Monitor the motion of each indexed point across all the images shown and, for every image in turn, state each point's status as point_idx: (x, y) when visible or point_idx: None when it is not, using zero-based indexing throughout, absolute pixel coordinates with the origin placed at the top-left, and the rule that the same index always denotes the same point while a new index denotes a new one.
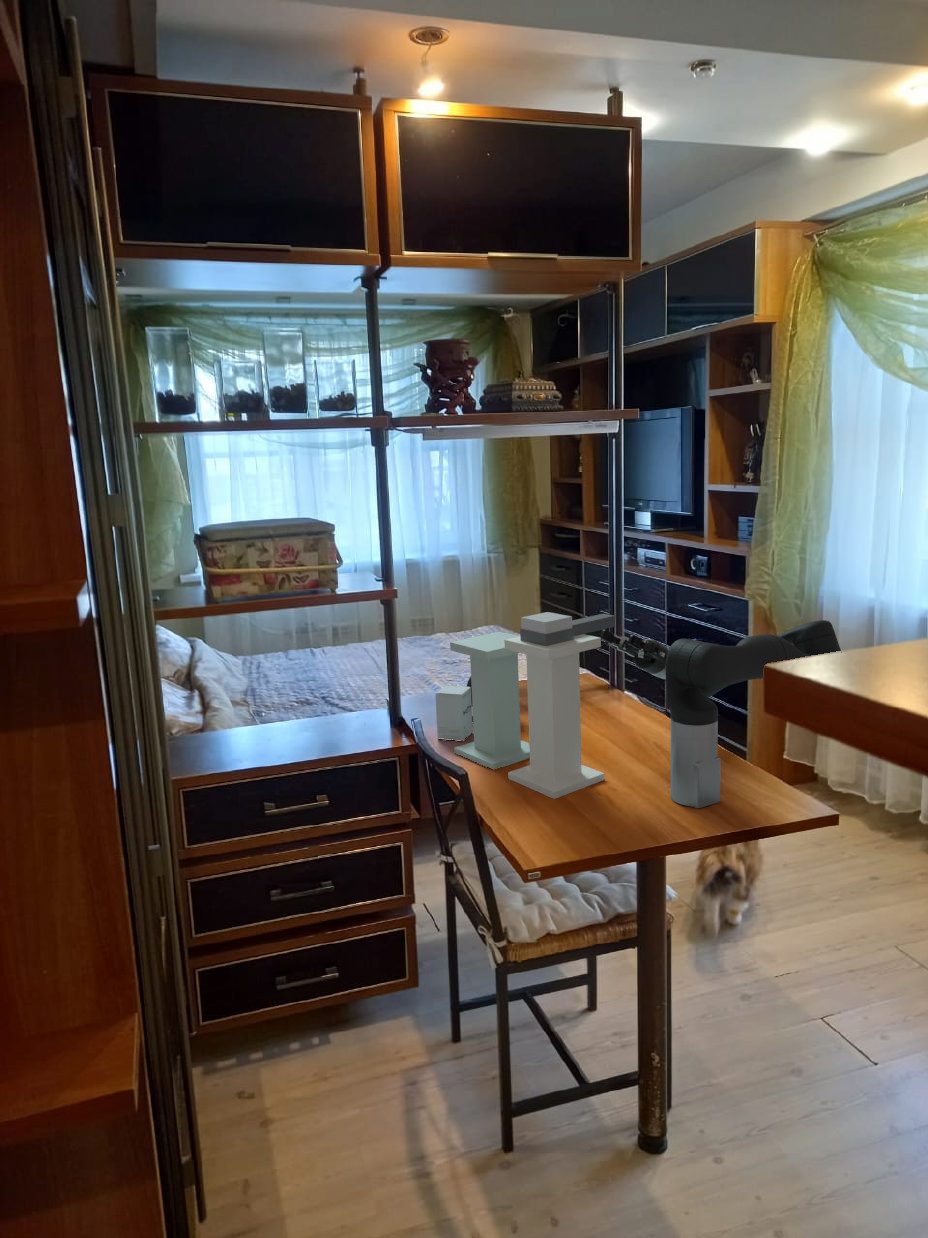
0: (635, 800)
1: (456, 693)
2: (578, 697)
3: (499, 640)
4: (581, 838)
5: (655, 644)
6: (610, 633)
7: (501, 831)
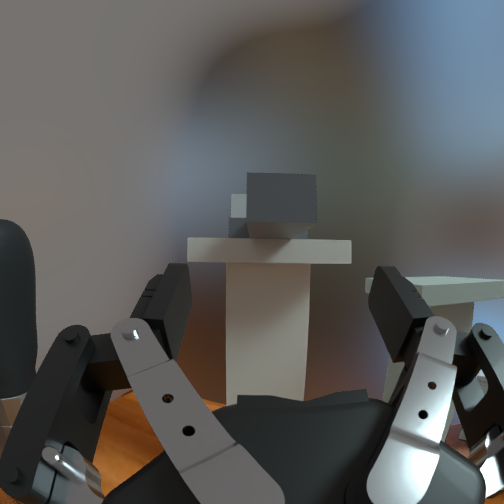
0: (118, 477)
1: (481, 372)
2: (226, 370)
3: (437, 280)
4: (136, 412)
5: (54, 343)
6: (395, 296)
7: (204, 400)
